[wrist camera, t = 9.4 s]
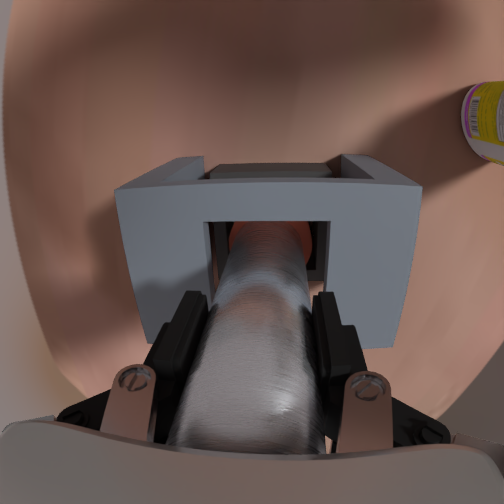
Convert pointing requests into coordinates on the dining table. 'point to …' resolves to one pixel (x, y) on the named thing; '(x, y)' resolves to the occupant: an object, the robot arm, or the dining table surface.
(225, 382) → the silver metal cylinder
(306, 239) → the button
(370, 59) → the dining table surface
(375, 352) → the dining table surface
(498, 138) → the supplement bottle
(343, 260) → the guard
